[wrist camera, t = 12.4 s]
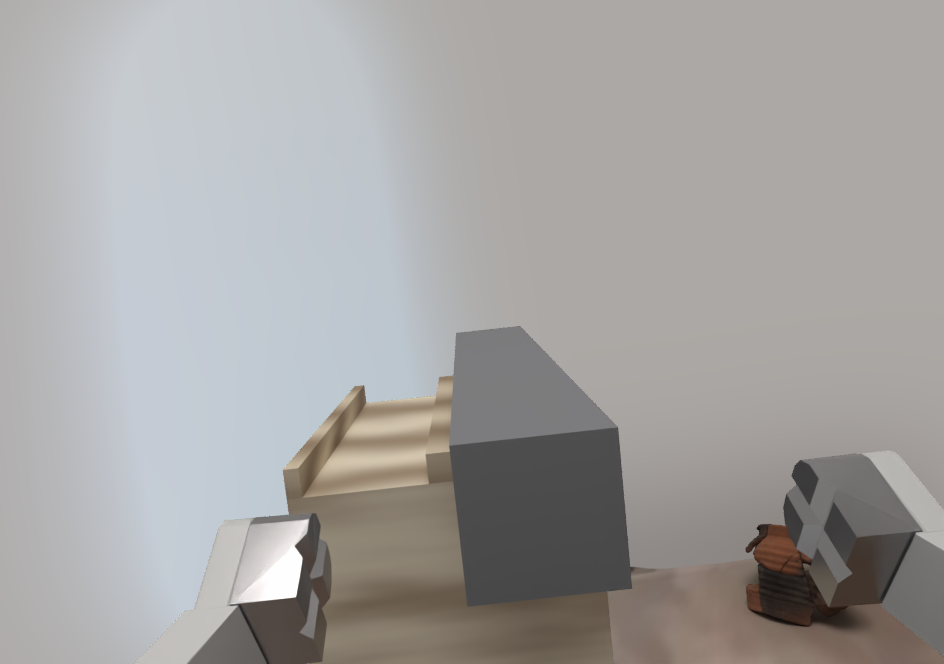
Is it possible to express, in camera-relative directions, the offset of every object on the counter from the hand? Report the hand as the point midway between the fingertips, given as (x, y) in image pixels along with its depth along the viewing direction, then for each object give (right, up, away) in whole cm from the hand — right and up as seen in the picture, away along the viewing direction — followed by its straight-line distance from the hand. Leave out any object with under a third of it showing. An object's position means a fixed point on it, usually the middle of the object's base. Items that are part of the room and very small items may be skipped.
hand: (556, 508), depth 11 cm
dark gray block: (0, -2, +18) cm, 18 cm away
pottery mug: (+29, -22, +50) cm, 62 cm away
